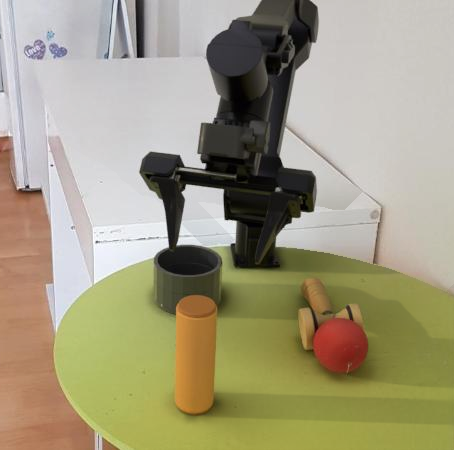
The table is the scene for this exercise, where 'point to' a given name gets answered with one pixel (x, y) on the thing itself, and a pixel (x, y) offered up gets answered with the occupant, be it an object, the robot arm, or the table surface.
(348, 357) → the kendama
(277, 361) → the table surface
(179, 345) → the orange tall cylinder
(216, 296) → the pot
